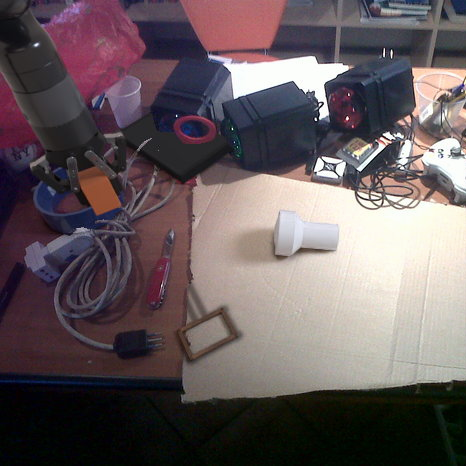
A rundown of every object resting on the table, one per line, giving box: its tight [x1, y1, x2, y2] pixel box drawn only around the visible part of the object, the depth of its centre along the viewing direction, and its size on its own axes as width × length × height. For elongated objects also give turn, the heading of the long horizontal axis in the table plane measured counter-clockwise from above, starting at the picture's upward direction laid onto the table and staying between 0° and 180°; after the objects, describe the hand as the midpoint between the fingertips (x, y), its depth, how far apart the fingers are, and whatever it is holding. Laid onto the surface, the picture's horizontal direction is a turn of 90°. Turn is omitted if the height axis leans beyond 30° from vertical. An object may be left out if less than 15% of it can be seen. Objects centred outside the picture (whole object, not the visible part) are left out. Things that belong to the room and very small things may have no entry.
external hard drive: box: [120, 111, 234, 185], centre depth 108 cm, size 14×23×3 cm, turn 49°
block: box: [78, 166, 121, 215], centre depth 76 cm, size 4×4×6 cm
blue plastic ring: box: [32, 166, 125, 235], centre depth 96 cm, size 15×15×6 cm
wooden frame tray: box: [176, 306, 239, 362], centre depth 80 cm, size 8×17×2 cm, turn 30°
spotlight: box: [273, 209, 340, 257], centre depth 86 cm, size 8×11×8 cm
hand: (103, 197), depth 78 cm, fingers closed on block, 4 cm apart
